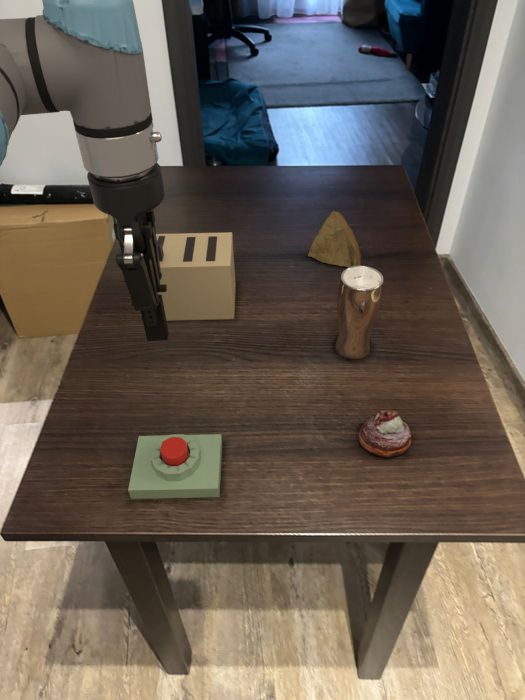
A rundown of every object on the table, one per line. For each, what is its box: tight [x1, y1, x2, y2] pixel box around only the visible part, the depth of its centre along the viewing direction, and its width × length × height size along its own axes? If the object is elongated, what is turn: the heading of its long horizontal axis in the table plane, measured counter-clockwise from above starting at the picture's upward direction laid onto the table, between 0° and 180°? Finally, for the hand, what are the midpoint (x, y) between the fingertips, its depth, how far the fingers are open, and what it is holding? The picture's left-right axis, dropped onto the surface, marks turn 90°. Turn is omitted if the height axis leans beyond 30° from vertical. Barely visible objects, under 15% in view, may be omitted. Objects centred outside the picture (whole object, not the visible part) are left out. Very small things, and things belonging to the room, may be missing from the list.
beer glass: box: [334, 265, 384, 360], centre depth 87 cm, size 7×7×15 cm
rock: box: [307, 210, 362, 268], centre depth 109 cm, size 11×9×10 cm
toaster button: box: [157, 240, 164, 261], centre depth 91 cm, size 2×2×3 cm
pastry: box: [358, 409, 413, 459], centre depth 76 cm, size 8×8×5 cm
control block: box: [127, 433, 223, 500], centre depth 73 cm, size 12×9×4 cm
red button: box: [160, 437, 188, 466], centre depth 71 cm, size 4×4×2 cm
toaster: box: [156, 231, 236, 321], centre depth 98 cm, size 16×11×12 cm
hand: (158, 336), depth 70 cm, fingers closed
